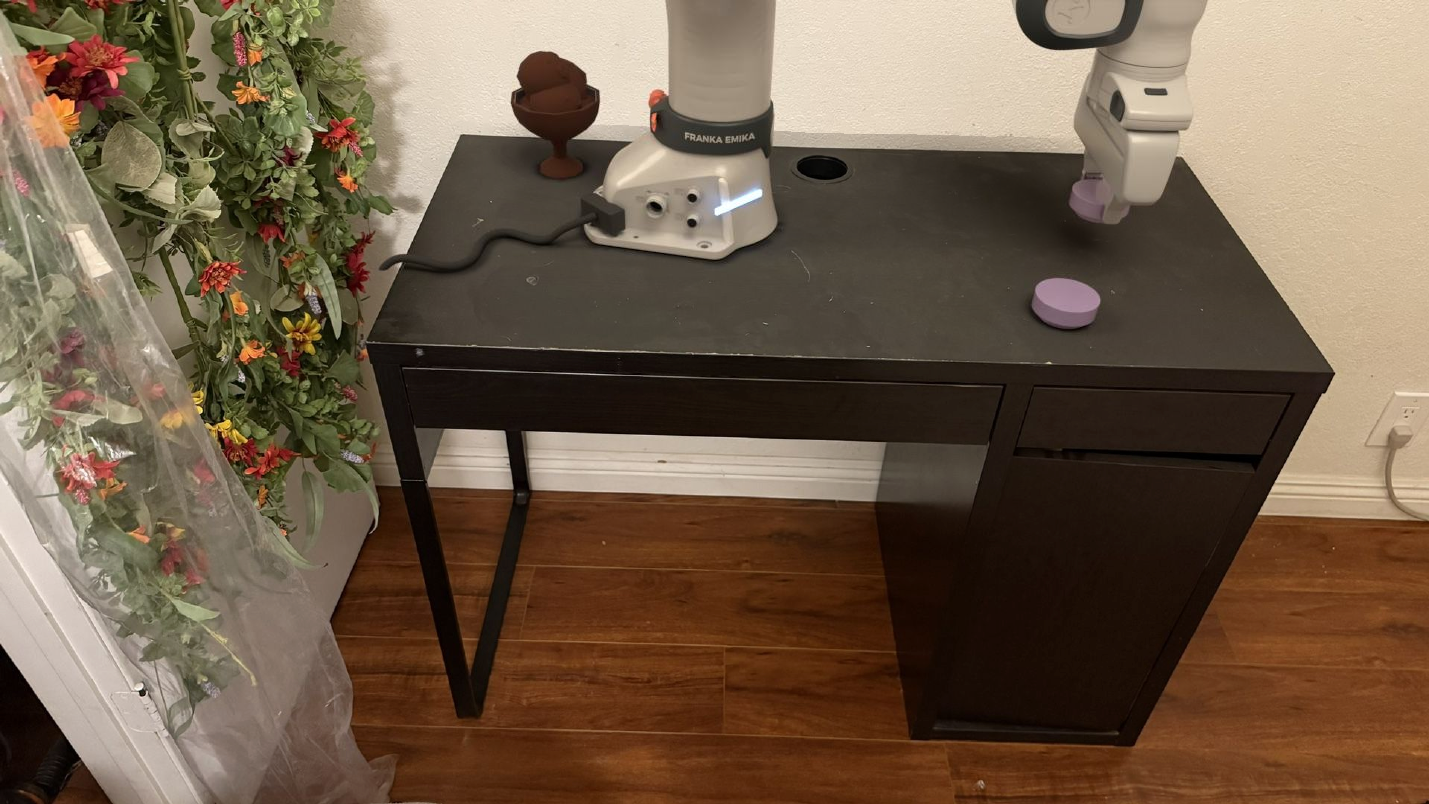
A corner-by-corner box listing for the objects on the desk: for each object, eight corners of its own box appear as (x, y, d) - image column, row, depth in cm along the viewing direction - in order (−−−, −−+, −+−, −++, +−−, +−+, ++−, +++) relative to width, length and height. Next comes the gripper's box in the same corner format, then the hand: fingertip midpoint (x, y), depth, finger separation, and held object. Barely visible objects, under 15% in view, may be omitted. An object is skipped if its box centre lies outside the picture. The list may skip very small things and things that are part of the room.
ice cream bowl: (591, 192, 121) (584, 70, 112) (504, 182, 123) (490, 61, 113) (615, 155, 129) (610, 39, 120) (533, 146, 131) (522, 31, 121)
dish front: (1037, 332, 99) (1043, 310, 98) (1023, 297, 104) (1029, 276, 103) (1101, 334, 99) (1108, 313, 98) (1084, 300, 104) (1091, 278, 103)
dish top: (1075, 226, 108) (1081, 204, 106) (1060, 198, 113) (1066, 177, 111) (1134, 228, 107) (1141, 206, 106) (1117, 200, 112) (1123, 179, 111)
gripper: (1076, 44, 109) (1048, 162, 117) (1132, 119, 93) (1095, 249, 101) (1134, 46, 109) (1101, 163, 117) (1200, 121, 93) (1157, 251, 101)
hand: (1099, 204), depth 109 cm, fingers closed on dish top, 6 cm apart
